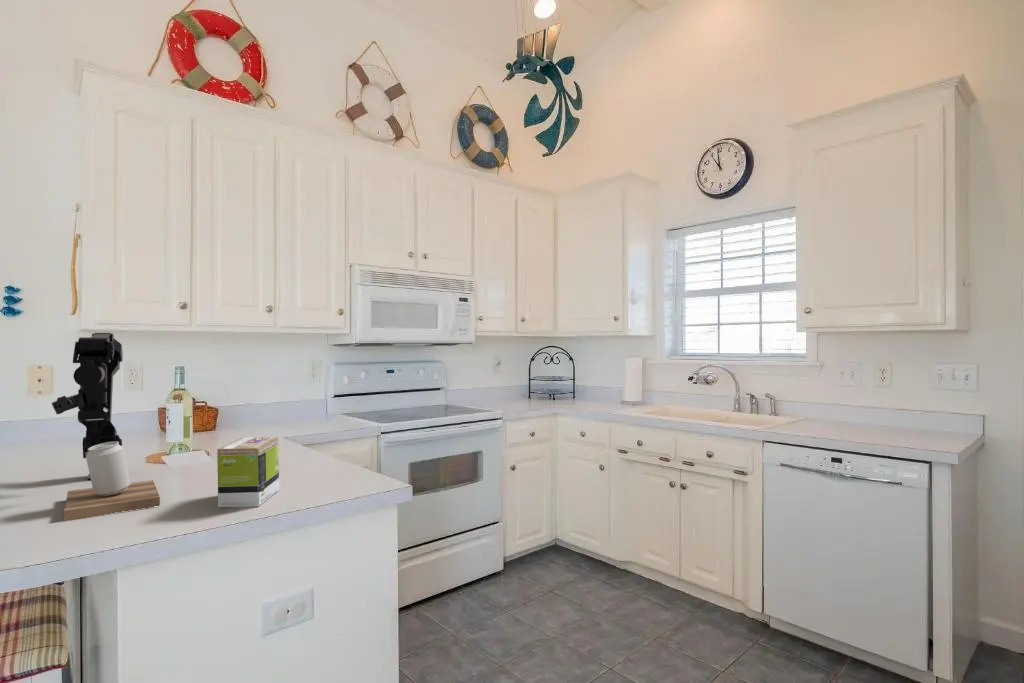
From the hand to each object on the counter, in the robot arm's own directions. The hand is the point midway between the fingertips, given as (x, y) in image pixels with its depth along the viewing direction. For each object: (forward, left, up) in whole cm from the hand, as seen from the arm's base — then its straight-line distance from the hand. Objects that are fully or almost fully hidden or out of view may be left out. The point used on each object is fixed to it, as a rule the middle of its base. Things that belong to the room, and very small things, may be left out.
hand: (93, 442), depth 145 cm
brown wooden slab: (+16, +4, -14) cm, 21 cm away
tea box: (+32, +32, -13) cm, 47 cm away
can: (+16, +4, -10) cm, 19 cm away
